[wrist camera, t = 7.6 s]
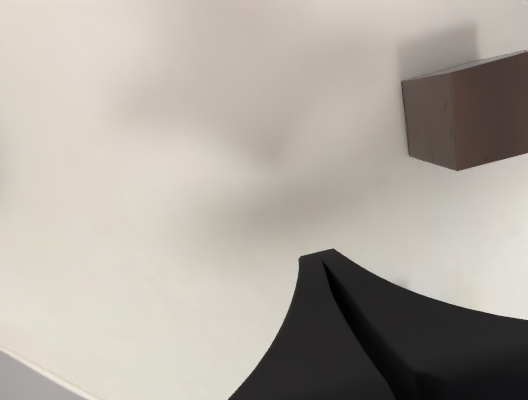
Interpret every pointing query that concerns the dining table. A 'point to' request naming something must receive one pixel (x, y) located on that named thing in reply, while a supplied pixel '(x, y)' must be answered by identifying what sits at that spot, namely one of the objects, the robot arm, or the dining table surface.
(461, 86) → the walnut block
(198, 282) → the dining table surface
